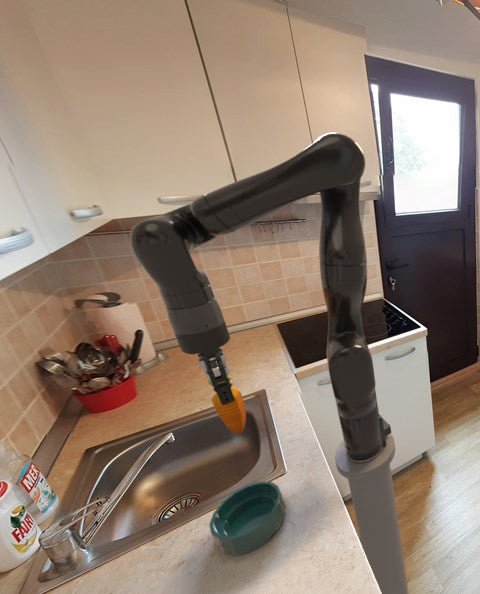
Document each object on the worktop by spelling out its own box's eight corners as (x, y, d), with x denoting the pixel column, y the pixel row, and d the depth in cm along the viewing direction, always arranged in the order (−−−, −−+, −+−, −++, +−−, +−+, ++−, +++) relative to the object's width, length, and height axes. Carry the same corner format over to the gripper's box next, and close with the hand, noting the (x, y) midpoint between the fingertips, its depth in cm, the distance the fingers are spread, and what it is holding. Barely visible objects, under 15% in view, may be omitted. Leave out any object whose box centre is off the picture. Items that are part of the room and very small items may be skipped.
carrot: (220, 439, 71) (197, 383, 65) (241, 423, 75) (221, 368, 70) (239, 444, 70) (217, 387, 64) (258, 427, 74) (240, 372, 68)
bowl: (277, 488, 78) (272, 471, 76) (293, 526, 70) (287, 508, 68) (214, 524, 70) (206, 506, 68) (223, 571, 62) (214, 553, 60)
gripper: (229, 330, 60) (254, 404, 66) (218, 306, 69) (241, 373, 76) (175, 344, 55) (208, 423, 61) (171, 317, 65) (200, 388, 71)
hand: (226, 395), depth 69 cm, fingers closed on carrot, 4 cm apart
